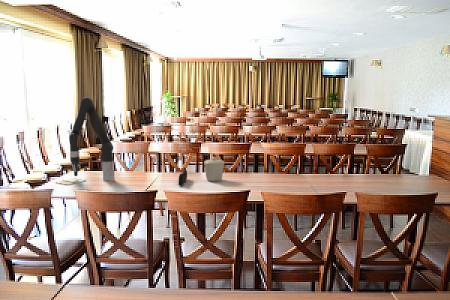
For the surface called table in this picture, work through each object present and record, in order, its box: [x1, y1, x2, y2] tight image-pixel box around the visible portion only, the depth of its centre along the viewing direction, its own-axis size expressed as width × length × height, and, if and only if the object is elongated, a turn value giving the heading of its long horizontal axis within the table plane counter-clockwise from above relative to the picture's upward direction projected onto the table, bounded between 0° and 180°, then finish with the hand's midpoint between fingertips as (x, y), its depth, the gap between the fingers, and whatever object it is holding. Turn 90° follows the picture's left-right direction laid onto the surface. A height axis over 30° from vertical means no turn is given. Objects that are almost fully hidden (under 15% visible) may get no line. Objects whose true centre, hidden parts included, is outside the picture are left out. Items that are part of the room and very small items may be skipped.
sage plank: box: [65, 177, 87, 184], centre depth 351 cm, size 16×10×2 cm, turn 56°
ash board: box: [55, 179, 77, 186], centre depth 343 cm, size 16×8×2 cm, turn 56°
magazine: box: [177, 167, 188, 186], centre depth 348 cm, size 17×3×30 cm
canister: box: [203, 156, 226, 183], centre depth 358 cm, size 18×18×21 cm
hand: (75, 175), depth 353 cm, fingers closed
